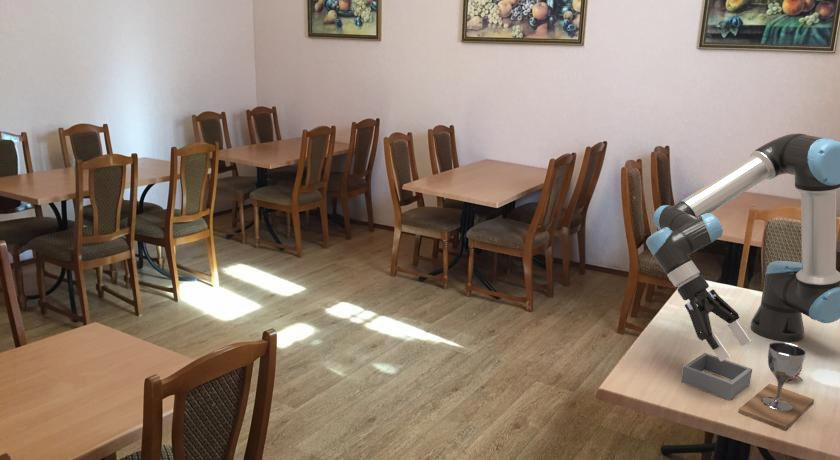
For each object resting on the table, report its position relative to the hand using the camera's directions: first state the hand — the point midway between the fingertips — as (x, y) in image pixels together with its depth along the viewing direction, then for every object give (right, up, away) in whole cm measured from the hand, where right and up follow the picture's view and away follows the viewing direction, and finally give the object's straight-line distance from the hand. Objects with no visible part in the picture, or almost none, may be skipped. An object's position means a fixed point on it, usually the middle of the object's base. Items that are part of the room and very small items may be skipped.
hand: (736, 351), depth 182 cm
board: (+8, -13, -5) cm, 16 cm away
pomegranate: (+18, -9, +10) cm, 23 cm away
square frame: (-3, -10, +6) cm, 12 cm away
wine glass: (+8, -12, -6) cm, 15 cm away
